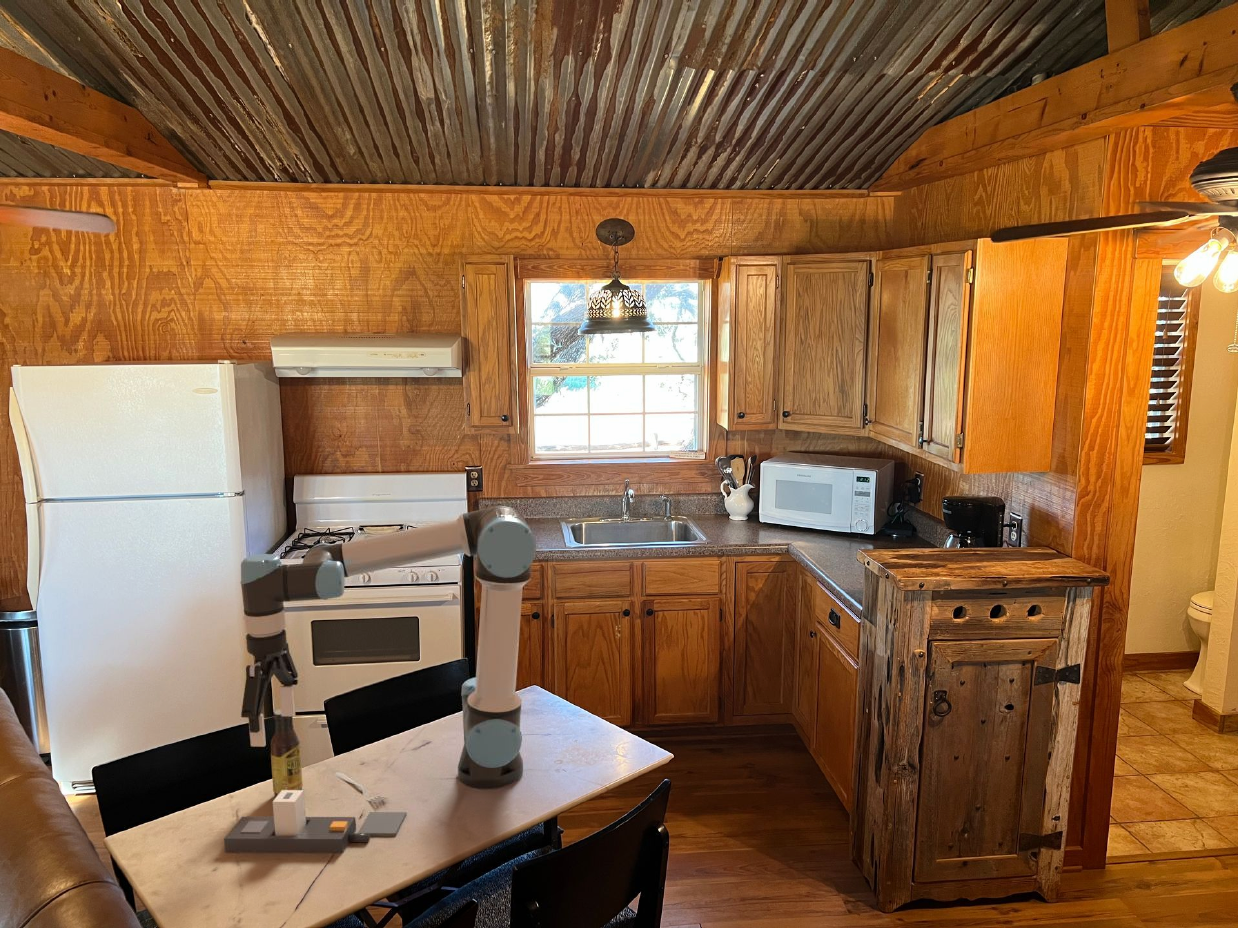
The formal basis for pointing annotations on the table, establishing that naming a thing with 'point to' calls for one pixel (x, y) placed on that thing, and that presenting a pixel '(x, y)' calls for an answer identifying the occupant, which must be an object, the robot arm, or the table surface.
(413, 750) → the table surface
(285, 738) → the sauce bottle
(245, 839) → the power strip
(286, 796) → the block
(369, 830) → the mat
